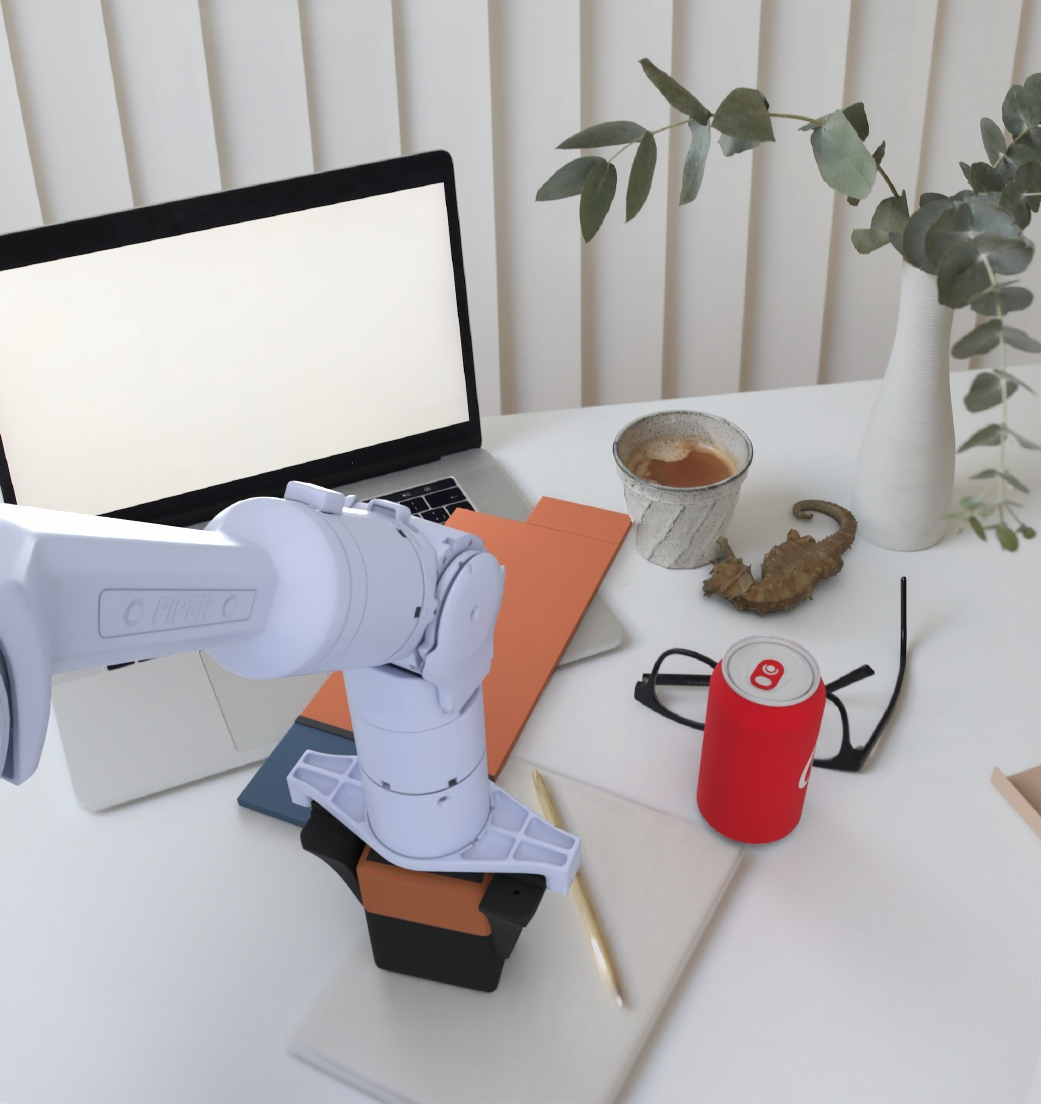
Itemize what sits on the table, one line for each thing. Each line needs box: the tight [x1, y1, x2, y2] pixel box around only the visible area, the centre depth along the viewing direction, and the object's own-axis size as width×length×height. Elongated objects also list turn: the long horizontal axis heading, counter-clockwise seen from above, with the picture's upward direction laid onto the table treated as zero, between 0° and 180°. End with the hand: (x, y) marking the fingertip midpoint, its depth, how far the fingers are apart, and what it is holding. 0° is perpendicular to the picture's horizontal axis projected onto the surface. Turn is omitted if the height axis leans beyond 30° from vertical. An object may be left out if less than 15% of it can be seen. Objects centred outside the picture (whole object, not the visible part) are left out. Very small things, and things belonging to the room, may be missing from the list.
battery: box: [356, 843, 506, 994], centre depth 55 cm, size 4×7×10 cm, turn 76°
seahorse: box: [702, 499, 859, 618], centre depth 81 cm, size 9×16×3 cm, turn 126°
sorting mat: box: [236, 495, 633, 828], centre depth 76 cm, size 36×14×1 cm, turn 158°
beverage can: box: [696, 634, 827, 845], centre depth 61 cm, size 6×6×12 cm
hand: (442, 917), depth 56 cm, fingers closed on battery, 7 cm apart
